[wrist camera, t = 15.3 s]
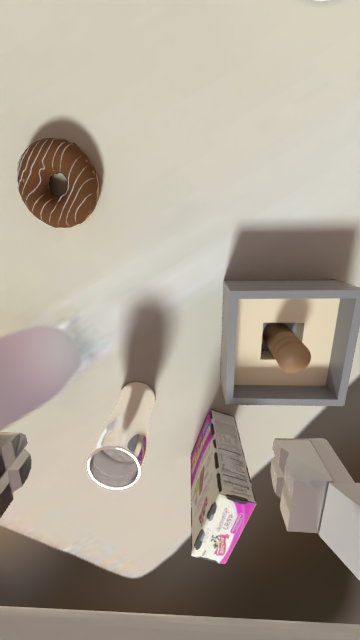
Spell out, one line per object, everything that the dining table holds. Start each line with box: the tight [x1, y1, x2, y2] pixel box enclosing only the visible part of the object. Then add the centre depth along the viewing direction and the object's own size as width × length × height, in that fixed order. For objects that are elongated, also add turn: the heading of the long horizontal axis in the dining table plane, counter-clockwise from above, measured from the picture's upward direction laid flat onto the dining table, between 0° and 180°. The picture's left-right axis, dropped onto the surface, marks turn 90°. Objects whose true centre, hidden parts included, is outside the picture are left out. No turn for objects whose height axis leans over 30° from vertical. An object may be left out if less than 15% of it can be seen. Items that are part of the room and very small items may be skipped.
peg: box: [263, 323, 311, 373], centre depth 37 cm, size 4×4×8 cm
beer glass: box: [87, 382, 155, 489], centre depth 40 cm, size 7×7×15 cm
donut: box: [17, 138, 99, 228], centre depth 36 cm, size 11×11×4 cm
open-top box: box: [220, 280, 360, 406], centre depth 39 cm, size 16×16×8 cm
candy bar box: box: [191, 410, 256, 564], centre depth 41 cm, size 11×5×16 cm, turn 163°
